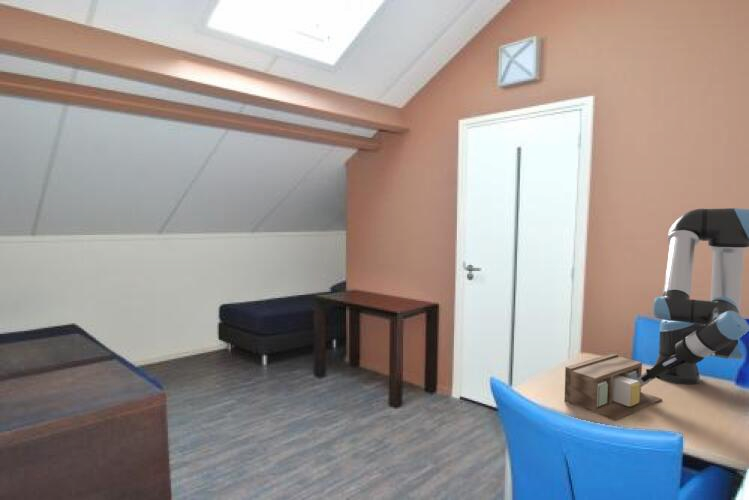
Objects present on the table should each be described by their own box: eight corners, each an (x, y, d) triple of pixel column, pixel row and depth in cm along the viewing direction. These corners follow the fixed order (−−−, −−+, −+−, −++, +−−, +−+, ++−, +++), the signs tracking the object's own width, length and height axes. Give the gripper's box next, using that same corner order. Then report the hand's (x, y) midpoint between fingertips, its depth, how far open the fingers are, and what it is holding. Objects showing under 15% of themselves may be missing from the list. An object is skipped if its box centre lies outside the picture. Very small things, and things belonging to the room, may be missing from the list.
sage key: (607, 404, 148) (608, 381, 148) (598, 407, 146) (599, 385, 145) (585, 396, 155) (586, 374, 154) (577, 399, 152) (577, 377, 151)
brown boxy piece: (661, 400, 153) (663, 366, 152) (615, 420, 138) (616, 383, 138) (611, 384, 168) (612, 353, 167) (564, 401, 153) (565, 367, 152)
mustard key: (639, 403, 148) (640, 381, 148) (631, 407, 146) (632, 384, 145) (616, 396, 155) (617, 374, 154) (608, 399, 152) (609, 377, 152)
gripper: (694, 362, 134) (634, 398, 150) (713, 355, 141) (654, 389, 157) (675, 340, 138) (619, 377, 154) (695, 334, 145) (639, 370, 161)
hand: (637, 383), depth 155 cm, fingers closed
